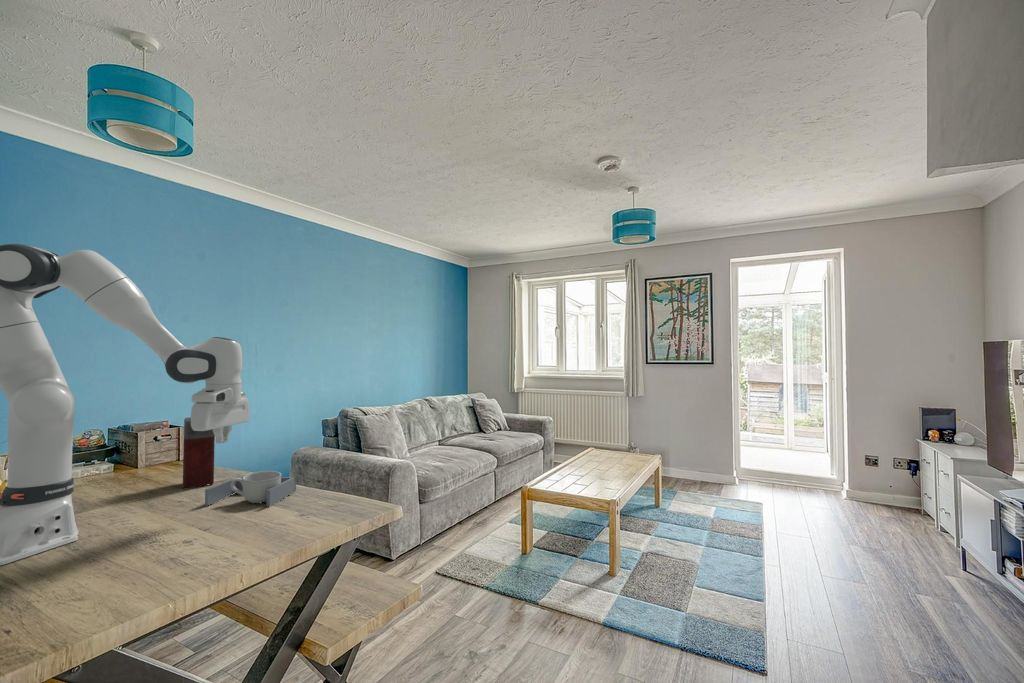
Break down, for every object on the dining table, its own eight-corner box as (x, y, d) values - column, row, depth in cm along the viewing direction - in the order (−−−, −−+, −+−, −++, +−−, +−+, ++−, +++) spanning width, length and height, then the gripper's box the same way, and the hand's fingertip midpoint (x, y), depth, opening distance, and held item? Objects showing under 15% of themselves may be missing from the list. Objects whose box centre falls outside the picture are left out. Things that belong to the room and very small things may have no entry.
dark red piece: (212, 478, 171) (213, 402, 172) (213, 484, 162) (215, 405, 163) (182, 481, 166) (184, 404, 167) (182, 489, 157) (184, 406, 158)
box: (269, 507, 137) (269, 490, 137) (204, 506, 138) (205, 489, 138) (295, 492, 152) (295, 477, 152) (237, 491, 153) (237, 476, 153)
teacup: (286, 494, 149) (286, 470, 150) (273, 505, 139) (273, 478, 139) (240, 496, 148) (240, 471, 148) (223, 507, 137) (224, 480, 137)
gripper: (236, 391, 142) (235, 436, 142) (186, 396, 122) (184, 449, 121) (256, 391, 142) (254, 436, 141) (209, 396, 122) (207, 449, 121)
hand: (222, 442), depth 131 cm, fingers closed
